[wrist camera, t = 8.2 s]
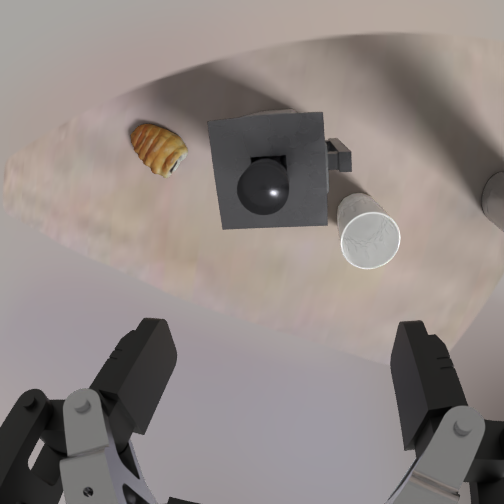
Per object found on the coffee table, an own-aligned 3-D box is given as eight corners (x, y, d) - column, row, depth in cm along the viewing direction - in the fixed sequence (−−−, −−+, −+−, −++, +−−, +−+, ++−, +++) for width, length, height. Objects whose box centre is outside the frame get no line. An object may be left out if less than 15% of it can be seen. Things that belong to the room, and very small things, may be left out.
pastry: (128, 146, 46) (116, 150, 42) (148, 111, 43) (137, 113, 39) (171, 179, 47) (162, 185, 44) (194, 145, 45) (186, 149, 41)
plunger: (309, 118, 32) (317, 129, 19) (313, 185, 36) (322, 241, 22) (239, 123, 34) (198, 139, 20) (246, 189, 37) (215, 245, 24)
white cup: (334, 239, 48) (341, 271, 39) (330, 190, 45) (338, 214, 36) (382, 234, 46) (399, 266, 38) (381, 186, 43) (401, 209, 34)
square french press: (332, 107, 39) (356, 111, 22) (335, 176, 43) (357, 225, 27) (242, 112, 41) (204, 121, 25) (249, 179, 46) (220, 230, 29)
